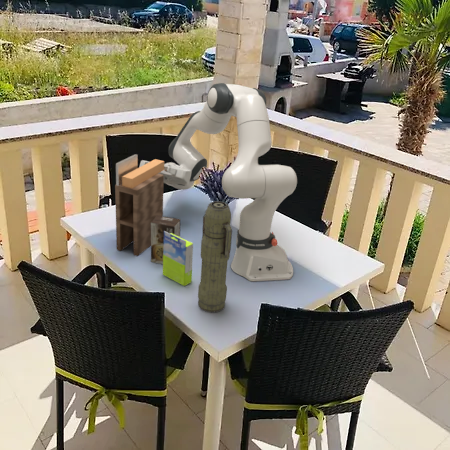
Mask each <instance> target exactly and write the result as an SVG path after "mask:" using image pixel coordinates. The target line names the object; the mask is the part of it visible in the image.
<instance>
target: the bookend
mask: <svg viewBox="0 0 450 450" xmlns="http://www.w3.org/2000/svg"><path fill="white" fill-rule="evenodd" d="M138 155H139V154H137V153H136V154H132V155H131V156H128V157H127V158H125V159H122V160H120V161H118V162H116V163H115V185H117V186H119V185H121V184H122V176H124V175H126V174H128V173H130V172H132V171H134V170H136V169H137V168H139V167H138V165H139V164H138V161H139V159H138Z"/></svg>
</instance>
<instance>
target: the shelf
mask: <svg viewBox="0 0 450 450" xmlns="http://www.w3.org/2000/svg"><path fill="white" fill-rule="evenodd" d="M114 190H115V191H114V193H115V195H114V196H115V229H116V230H115V235H116V236H115V237H116V250H117V251H120V252H121V251H122V250H124V249H125V248H127V247H128V246H129V245H131V244H132V243H133V256H135V257H138V256H139V255H141V254H143V253H144V252H145V251H146V250H147V249H148V248H151V222H152V221H153V220H154V219H155V217H156V216H157V215H158V216H164V175H162V174H156V175H155V176H153V177H151V178H149V179H148V180H146V181H144V182H142V183H141V184H139V185H137V186H135V187H134V188H129V187H125V186H122V184H121V185H119V186H117V185H116V184H115V185H114Z"/></svg>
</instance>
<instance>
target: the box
mask: <svg viewBox="0 0 450 450" xmlns="http://www.w3.org/2000/svg"><path fill="white" fill-rule="evenodd" d="M193 254H194V242H192V241H188V240H187V239H185V238H182V237H181V236H180V237H178V236H176V235H174V234H172V233H168V232H166V231H164V246H163V264H162V275H163V276H164V277H166V278H169V279H170V280H172V281H173V282H176V283H178V284H180V285H181V286H183V287H185V286H187V285H189V284H191V283H192V282H193V281H192V280H193Z"/></svg>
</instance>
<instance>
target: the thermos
mask: <svg viewBox="0 0 450 450" xmlns="http://www.w3.org/2000/svg"><path fill="white" fill-rule="evenodd" d="M204 213H205V214H204V215H203V216H202V237H201V242H200V243H201V245H200V258H201V266H200V267H201V269H200V271H201V272H200V282H199V284H198V290H197V299H198V301H197V305H198V308H199V309H201V310H202V311H204V312H207V313H218V312H221V311H223V310H224V309H225V306H226V301H227V300H226V299H227V295H228V294H227V292H228V291H227V290H228V286H227V272H228V261H229V260H230V256H231V247H232V236H233V228H232V225H231V218H232V212H231V209H230V206H229V204H228V203H226V202H224V201H220V200H219V201H217V200H216V201H212V202H210V203H209V204H208V206H207V207H206V210H205V212H204Z"/></svg>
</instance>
